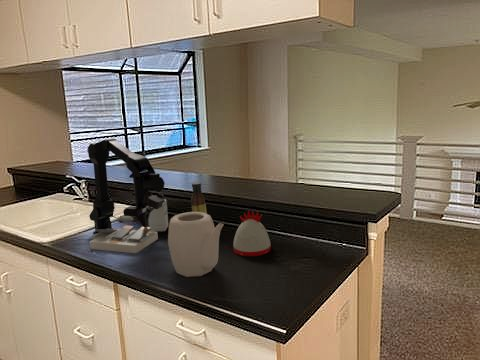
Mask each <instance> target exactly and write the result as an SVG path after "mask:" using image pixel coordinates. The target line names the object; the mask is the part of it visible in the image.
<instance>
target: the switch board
mask: <svg viewBox="0 0 480 360" xmlns="http://www.w3.org/2000/svg"><path fill="white" fill-rule="evenodd" d="M107 229H109V228H107ZM112 229H113V230H117V231H115V232H113V233H111V234H105V233H102V232H99V233H97V234H96V233H94V234H93V235H92V239H91V240H90V241H89V249H90V250H99V251H100V250H101V251H110V252H119V253H120V252H121V253H130V254H131V253H132V254H138V253H139V252H140V251H142V250H143V249H145V248H146V247H148V246H149V245H151V244H153V243H154V242H155V241H157V240H158V239H159V236H158V231H149V232H148V233H147V236H145V237H143V238H142V239H140V241H134V240H130V239H129V238H130V237H131V236H132V235H133V234H134V233H136V232H137V231H138V230H139V229H138V230H136V229H133V230H132V231H131V232H129V235H126V236H125V237H124V238H122V239H113V238H112V237H113V236H114V235H115V234H116V233H117V232H118V231H119V230H120V229H121V228H112Z"/></svg>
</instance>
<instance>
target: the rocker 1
mask: <svg viewBox="0 0 480 360" xmlns="http://www.w3.org/2000/svg"><path fill="white" fill-rule="evenodd" d="M112 229H113V228H112ZM112 229H96V231H98V232H102V233H105V234H111V233H113V232H115V231H117V230H112Z"/></svg>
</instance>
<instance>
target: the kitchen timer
mask: <svg viewBox="0 0 480 360" xmlns="http://www.w3.org/2000/svg"><path fill="white" fill-rule="evenodd" d="M250 213H251V214H250ZM243 216H244V218H243ZM243 216H241V215H240V216H239V218H240V220H241V223H240V225H239V226H238V228H237V229H236V232H235V235H234V238H233V243H232V245H233V248H232V249H233V252H234V253H235V254H237V255H240V256H243V257H257V256H263V255H265V254H267V253H269V252H270V251H271V249H272V248H271V247H272V246H271V240H270V237H269V234H268V230H267V229H266V228H265V226H264V225H263V224H262V223H261V222H260V220H261V219H262V216H263V214H262V213H261V214H260V216H259V210H257V211H256V214H255V213H254V210H251V212H250V210H247V214H246V213H245V212H244V213H243Z"/></svg>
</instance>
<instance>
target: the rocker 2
mask: <svg viewBox="0 0 480 360" xmlns="http://www.w3.org/2000/svg"><path fill="white" fill-rule="evenodd" d="M119 229H120V230H119V231H118V232H117V233H116V234H115V235H114V236H113V237H112V238H113V239H122V238H124V237H125V236H126V235H129V232H131V231H132V230H135V226H134V225H127V224H126V225H124V226H123V227H121V228H119Z"/></svg>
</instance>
